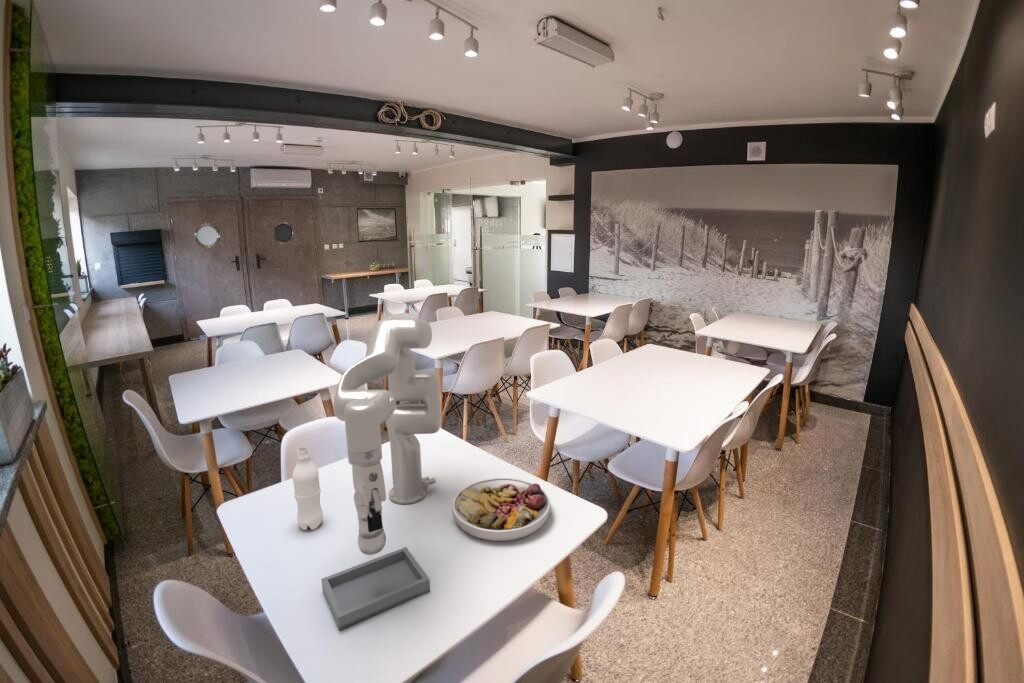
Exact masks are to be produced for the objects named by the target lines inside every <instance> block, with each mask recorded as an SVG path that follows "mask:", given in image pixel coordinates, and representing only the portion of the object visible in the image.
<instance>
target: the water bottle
mask: <svg viewBox="0 0 1024 683" xmlns="http://www.w3.org/2000/svg"><path fill="white" fill-rule="evenodd" d="M296 451H297V453H296V459H297V462H296V465H295V467H294V469H293V471H292V481H293V482H292V483H293V490H294V499H295V501H296V505H297V515H296V518H297V519H296V520H297V524H298V526H299V527H300V528H301V530H303V531H307V530H308V528H310V530H313V531H314V530H316V529H317V528H318V527H319V525H321V524H322V523H323V519H324V512H323V509H322V506H321V486H320V478H319V470H318V468H317V466H316V464H315V463H314V462H313V461H312V460H311V457H310V456H311V454H310V451H309V446H300V447H299V448H297V449H296Z"/></svg>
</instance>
